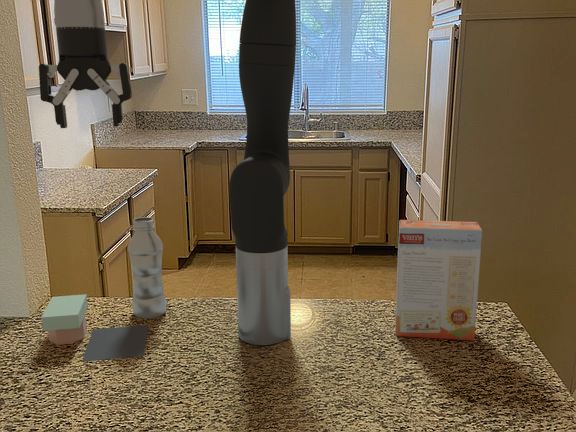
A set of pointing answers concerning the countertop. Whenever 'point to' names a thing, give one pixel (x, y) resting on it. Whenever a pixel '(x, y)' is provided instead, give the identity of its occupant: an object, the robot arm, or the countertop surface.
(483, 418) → the countertop surface
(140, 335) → the mat
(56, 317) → the block
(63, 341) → the bowl
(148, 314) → the plastic bottle
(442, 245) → the cracker box
